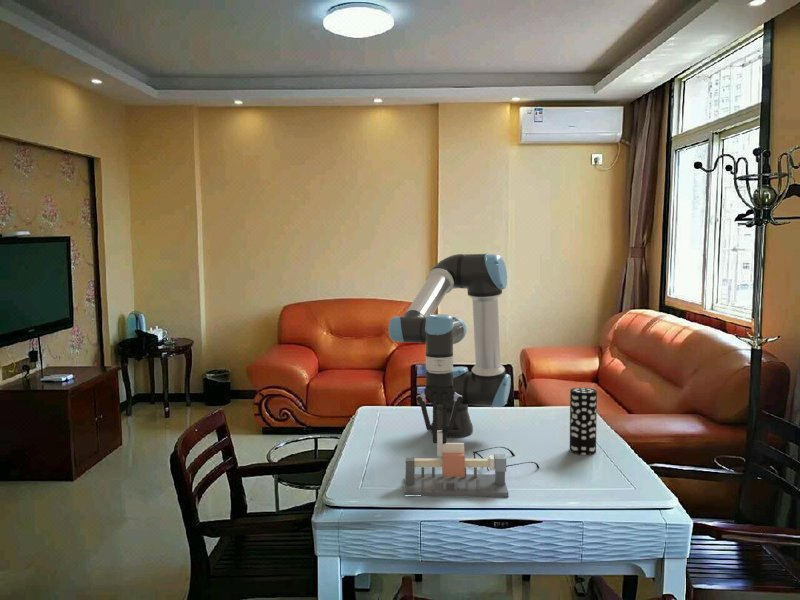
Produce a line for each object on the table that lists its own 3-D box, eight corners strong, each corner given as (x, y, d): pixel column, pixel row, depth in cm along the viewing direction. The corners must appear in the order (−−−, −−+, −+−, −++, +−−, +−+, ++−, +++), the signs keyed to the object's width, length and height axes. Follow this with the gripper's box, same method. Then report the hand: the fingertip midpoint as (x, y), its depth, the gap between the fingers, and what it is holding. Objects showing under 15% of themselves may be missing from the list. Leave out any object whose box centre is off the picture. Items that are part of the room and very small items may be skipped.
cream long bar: (408, 471, 184) (408, 458, 183) (408, 466, 187) (408, 454, 187) (506, 471, 182) (506, 458, 182) (504, 466, 186) (504, 454, 186)
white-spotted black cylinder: (597, 455, 211) (598, 393, 210) (570, 454, 213) (570, 392, 211) (594, 447, 219) (595, 388, 218) (569, 446, 221) (569, 387, 219)
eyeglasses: (469, 462, 207) (469, 449, 207) (512, 455, 214) (512, 443, 213) (498, 479, 192) (498, 465, 192) (543, 471, 199) (543, 458, 198)
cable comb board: (404, 496, 179) (403, 467, 178) (405, 478, 193) (405, 451, 192) (508, 496, 178) (508, 467, 177) (502, 478, 192) (502, 451, 191)
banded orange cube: (442, 476, 182) (442, 446, 182) (442, 469, 188) (442, 440, 187) (464, 477, 182) (464, 446, 181) (463, 469, 188) (463, 440, 187)
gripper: (415, 373, 179) (416, 458, 181) (463, 373, 179) (463, 459, 181) (416, 368, 187) (416, 450, 189) (462, 368, 186) (462, 450, 188)
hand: (439, 454), depth 185 cm, fingers closed
